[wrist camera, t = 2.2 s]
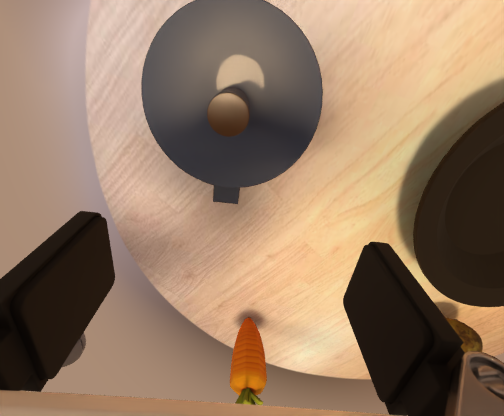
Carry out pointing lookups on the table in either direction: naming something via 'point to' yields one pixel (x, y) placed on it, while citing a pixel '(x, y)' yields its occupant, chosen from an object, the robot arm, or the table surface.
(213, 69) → the lid
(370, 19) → the table surface
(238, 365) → the carrot
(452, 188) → the plate
